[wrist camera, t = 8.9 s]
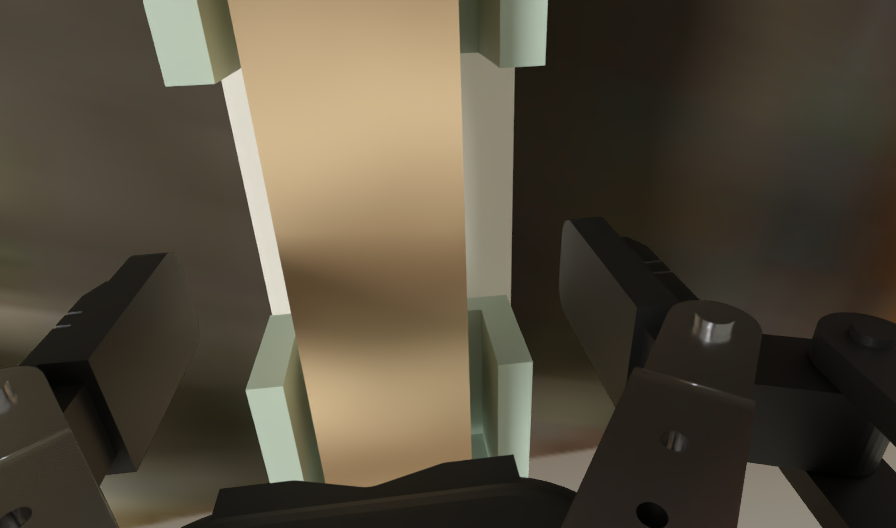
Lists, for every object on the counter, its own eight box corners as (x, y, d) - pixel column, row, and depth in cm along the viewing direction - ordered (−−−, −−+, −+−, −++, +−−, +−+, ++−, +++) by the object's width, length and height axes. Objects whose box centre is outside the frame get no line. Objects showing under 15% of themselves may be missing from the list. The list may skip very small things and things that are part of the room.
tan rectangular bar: (247, -158, 12) (181, -227, 8) (429, -163, 12) (451, -232, 8) (345, 425, 20) (336, 536, 16) (455, 414, 20) (473, 520, 16)
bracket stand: (174, -192, 16) (-21, -356, 8) (510, -198, 17) (621, -353, 9) (293, 377, 26) (255, 549, 18) (504, 357, 26) (555, 513, 19)
